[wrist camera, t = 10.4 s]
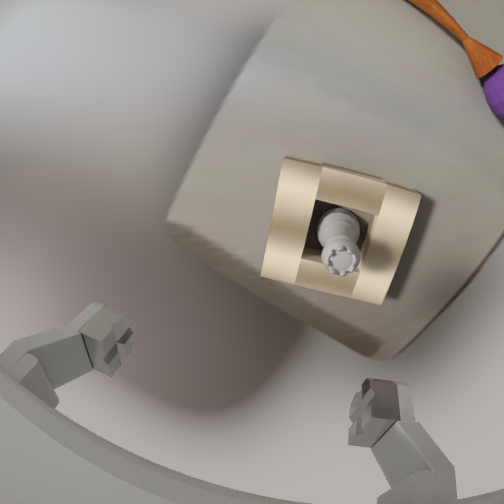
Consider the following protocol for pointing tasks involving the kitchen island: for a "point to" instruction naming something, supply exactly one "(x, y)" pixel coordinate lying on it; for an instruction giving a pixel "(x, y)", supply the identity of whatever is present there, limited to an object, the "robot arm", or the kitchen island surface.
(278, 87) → the kitchen island surface
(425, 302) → the kitchen island surface
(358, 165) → the kitchen island surface
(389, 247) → the square wooden frame
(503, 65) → the purple maraca
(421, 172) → the kitchen island surface
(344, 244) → the rook chess piece
